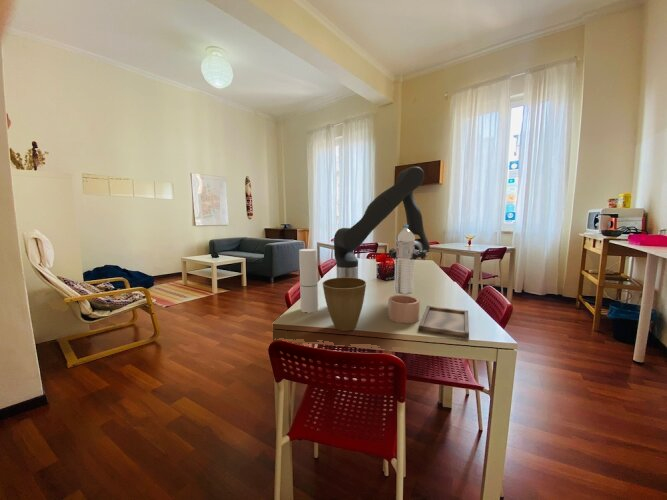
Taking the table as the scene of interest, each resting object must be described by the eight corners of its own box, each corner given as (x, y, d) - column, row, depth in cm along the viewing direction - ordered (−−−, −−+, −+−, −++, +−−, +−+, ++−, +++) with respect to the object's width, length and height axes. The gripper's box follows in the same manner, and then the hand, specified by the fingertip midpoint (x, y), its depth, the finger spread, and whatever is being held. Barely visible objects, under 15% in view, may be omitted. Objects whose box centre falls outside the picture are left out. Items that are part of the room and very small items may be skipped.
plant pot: (332, 316, 105) (332, 276, 103) (370, 321, 99) (370, 278, 97) (316, 332, 91) (315, 285, 89) (359, 339, 86) (359, 289, 84)
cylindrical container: (319, 307, 116) (318, 248, 113) (316, 313, 109) (315, 251, 106) (302, 306, 117) (301, 248, 114) (299, 312, 110) (297, 251, 106)
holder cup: (385, 320, 101) (385, 301, 100) (392, 310, 111) (392, 294, 110) (416, 325, 96) (416, 305, 95) (420, 314, 106) (421, 297, 105)
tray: (418, 330, 91) (418, 325, 91) (426, 309, 111) (426, 305, 111) (468, 338, 85) (469, 333, 85) (467, 315, 105) (468, 310, 104)
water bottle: (410, 296, 97) (412, 225, 94) (391, 293, 101) (393, 225, 98) (415, 291, 103) (417, 225, 100) (397, 288, 107) (399, 224, 103)
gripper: (394, 240, 116) (384, 244, 101) (430, 242, 110) (424, 246, 95) (394, 258, 117) (383, 264, 102) (429, 260, 111) (424, 267, 96)
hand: (403, 256), depth 98 cm, fingers closed on water bottle, 7 cm apart
